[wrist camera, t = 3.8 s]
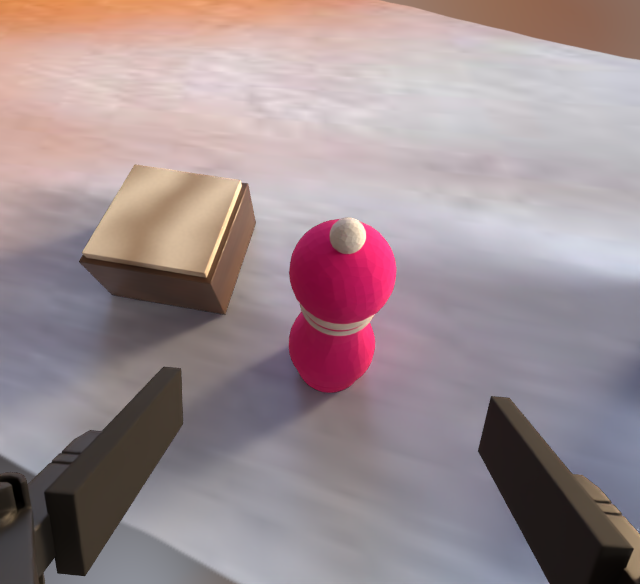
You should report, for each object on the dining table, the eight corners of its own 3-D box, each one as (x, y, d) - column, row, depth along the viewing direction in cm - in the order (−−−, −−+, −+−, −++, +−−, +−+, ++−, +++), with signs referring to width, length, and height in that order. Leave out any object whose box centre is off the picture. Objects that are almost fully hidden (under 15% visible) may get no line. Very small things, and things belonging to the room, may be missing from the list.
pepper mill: (349, 315, 37) (387, 156, 19) (379, 383, 34) (455, 264, 16) (281, 338, 36) (254, 188, 18) (305, 410, 32) (300, 313, 15)
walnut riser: (256, 222, 42) (247, 177, 36) (225, 314, 37) (208, 279, 30) (157, 207, 43) (131, 159, 37) (111, 295, 37) (72, 256, 31)
